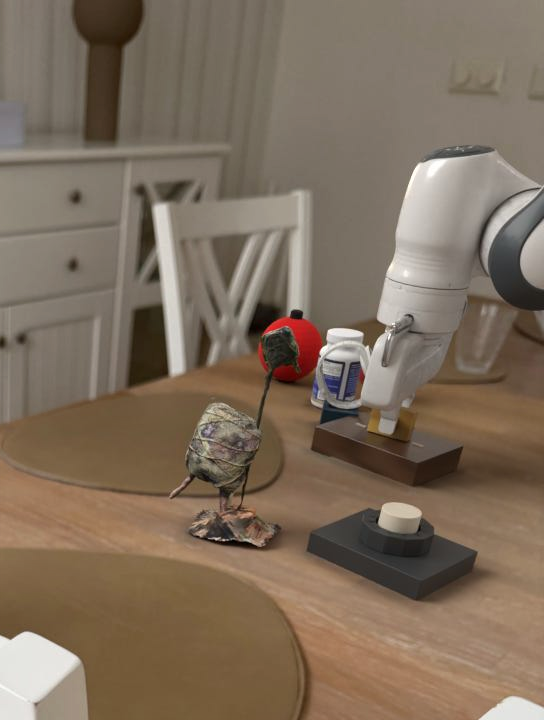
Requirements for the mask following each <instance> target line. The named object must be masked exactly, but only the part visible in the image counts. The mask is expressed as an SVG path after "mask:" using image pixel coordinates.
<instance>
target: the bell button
mask: <svg viewBox="0 0 544 720" xmlns="http://www.w3.org/2000/svg"><path fill="white" fill-rule="evenodd" d="M380 510H381V513H380V517H379V521H378V525H379V526H380V527H381V528H384V529H386V530H389V531H391V532H396V533H401V534H415V533H416V532H417V530H418V527H419V523H420V520H421V518H422V515H423V512H422V511H421V510H420V509H419V508H418V507H416V506H414V505H411V504H408V503H404V502H393V501H392V502H386V503H384V504H383V505H382V506H381V509H380Z"/></svg>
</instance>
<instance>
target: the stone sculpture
mask: <svg viewBox="0 0 544 720" xmlns="http://www.w3.org/2000/svg"><path fill="white" fill-rule="evenodd" d="M262 335H263V334H262ZM260 343H261V347H262V355H263V357H264V362H265V365H266V366H269V370H268V373H267V374H266V376H265V384H264V389H263V393H262V395H261V399H260V403H259V406H258V410H257V411H258V413H257V419H256V418H255V417H253V416H250V415H249V414H247V413H244V412H241V411H239V410H238V409H235V408H233V407H231V406H229V405H228V404H227V403H223V402H211V403H209V404H208V405H207V406H206V408H205V410H204V412H203V414H202V415H201V418H200V419H199V421H198V422H197V425H196V426H195V429H194V433H193V435H192V437H191V439H190V441H189V444H188V448H187V450H186V453H185V459H184V460H185V461H184V462H185V468H186V469H187V470H188V471H189V474H188V475H187V476H186V477H185V478H184V480H182V481H181V483H179V486H178V487H177V488H176V489H174V490H173V491H172V492H171V493H170V495H169V496H168V499H170V500H174V498H175V497H177V496H178V495H180V493H181V492H183V491H184V490H185V489H186V488H187V487H188V486H189V485H190V484H191V483H192V482H194V480H195V478H197V479H199V480H200V481H203V482H205V483H208V484H210V485H211V486H212V487H213V488H215V489H218V490H219V493H218V496H219V509H216V510H215V509H214V508H212V509H203V508H202V511H200V512H197V515H196V516H195V517H196V518H195V519H194V522H193V523H191V524H190V525H191V526H190V527H189V528H186V532H187V533H188V534H191V536H194V537H195V536H196V537H197V536H199V538H204V539H208V540H215V541H219V542H221V541H222V542H226V541H227V542H228V541H232V540H235V541H237V542H247V543H251V544H252V545H255V546H257V547H258V548H261V547H264V546H266V545H267V546H268V544H267V543H269V542H271V540H270V539H271V538H274V537H276V535H275V534H278V531H283V528H282V526H280V525H279V524H278V523H276V524H275V523H273V522H266V521H265V520H262V518H260V517H259V516H258V515H257V508H256V507H253V506H250V505H243V502H244V498H245V493H246V487H247V483H248V479H249V475H250V468H251V466H252V463H253V462H254V461H255V456H256V454H257V452H258V451H259V449H260V446H261V442H262V440H263V437H264V435H263V427H262V426H261V421H262V417H263V412H264V407H265V404H266V403H265V402H266V398H267V393H268V391H269V390H270V386H271V383H272V379H273V378H274V377H273V372H274V370H275V369H277V368H279V367H280V366H286V367H288V366H289V365H291V366H292V367H294V369H295V371H296V372H297V373H300V372H301V370H300V368H299V365H298V363H297V359H298V357H299V350H298V348H299V347H298V345H297V343H296V340H295V337H294V334H293V332H292V330H291V328H289V327H288V326H284V327H282V328H280V329H277V330H274V331H270V332H268V333H267V334H264V335H263V336H261V338H260V341H259V344H260ZM210 399H211V400H215V399H216V397H210ZM240 486H242V487H241V494H240V495H241V497H240V498H241V499H240V501H241V502H240V504H232V501H233V498H234V494H235V491H236V490H238V489H239V488H240Z"/></svg>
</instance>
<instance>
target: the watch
mask: <svg viewBox="0 0 544 720" xmlns="http://www.w3.org/2000/svg"><path fill="white" fill-rule="evenodd" d="M345 347H351V348H352V347H353V348H356V349H357V351H358V353H359V359H360V363H361V367H362V370H363V373H364V376H366V372H367V369H368V365H369V361H370V358H371V355H372V350H373V349H372V348H371V345H366V346H365V344H363V342H362V343H361V342H358V341H353V340H346V341H340V342H339V343H338V342H337V343H335V344H333V345H332V346H330V347H329V348H327V349H326V350H325V351H324V353H323V354H322V356H321V358H320V360H319V363H318V368H317V367H315V374H316V377H317V383H318V387H319V390H320V392H321V395H322V397H323V399H324V403H323V408H322V409H321V413H320V418H319V424H318V425H320V424H324V423H327V422H330V421H334V420H337V419H340V418H344V417H347V416H350V415H351V416H358V413H360V412H359V409H360V408H359V407H361V406H363V405H362V404H361V397H359V398H358V399H354V401H350V400H343V399H335V398H333V397H331V396H330V391H329V390H328V388H327V385H326V383H325V380H324V375H323V363H322V362H323V360H324V359H325V358H326V356H328V355H329V354H330V353H331V352H333V351H335V350H337V349H338V348H339V349H340V348H345Z"/></svg>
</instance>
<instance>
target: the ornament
mask: <svg viewBox="0 0 544 720" xmlns="http://www.w3.org/2000/svg"><path fill="white" fill-rule="evenodd" d="M303 316H304V311H303V310H302V309H297V308H294V309H291V311H290V314H289V316H285V317H281V318H278V319H277V320H275V321H274V322H272V323H271V324H270V325H269V326H268V327H267V328H266V329H265V330H264V332H263V333H262V336H263V335H264V334H267V333H268V332H270V331H274V330H277V329H280V328H282V327H284V326H288V327H289V328H291V330H292V332H293V334H294V337H295V340H296V343H297V345H298V347H299V348H298V350H299V357H298V359H297V363H298V365H299V368H300V370H301V372H300V373H297V372H296V371H295V369H294V367H292V366H291V365H289V366H288V367H286V366H280V367H279V368H277V369H275V370H274V372H273V377H272V378H274V379H275V380H279V381H282V382H294V381H298V380H302V379H304V378H305V377H307V376H308V375H310V374H311V373H312V372H313V371H314V370H315V369H316V368H317V364H318V358H319V353H320V350H321V349H322V348H323V340H322V337H321V333H320V332H319V330H318V328H317V327H316V325H314V324H313V323H312V322H311V321H309V319H306V318H304V317H303ZM262 336H261V337H262ZM258 358H259V362H260V364H261V366H262V368H263V369H264V371H265V372H266V373H267V374H268V370H269V366H266V365H265V362H264V357H263V355H262V347H261V343H260V342H259V344H258Z"/></svg>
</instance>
